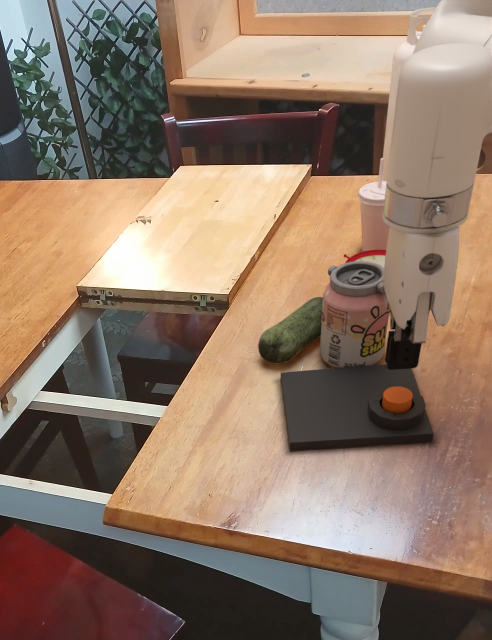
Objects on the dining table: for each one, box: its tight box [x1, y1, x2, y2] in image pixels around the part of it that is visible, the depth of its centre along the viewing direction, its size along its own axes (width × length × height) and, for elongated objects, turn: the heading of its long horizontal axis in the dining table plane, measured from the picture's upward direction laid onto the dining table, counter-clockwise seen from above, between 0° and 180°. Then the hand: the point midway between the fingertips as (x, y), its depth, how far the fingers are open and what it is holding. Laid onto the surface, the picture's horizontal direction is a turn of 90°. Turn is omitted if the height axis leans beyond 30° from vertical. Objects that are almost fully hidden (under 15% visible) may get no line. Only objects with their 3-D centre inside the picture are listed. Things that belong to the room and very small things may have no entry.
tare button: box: [382, 386, 413, 413], centre depth 85 cm, size 3×3×2 cm
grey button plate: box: [279, 363, 435, 452], centre depth 89 cm, size 16×14×3 cm
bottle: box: [382, 7, 436, 181], centre depth 115 cm, size 8×8×28 cm
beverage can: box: [319, 261, 391, 368], centre depth 93 cm, size 9×8×12 cm
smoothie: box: [357, 157, 390, 252], centre depth 110 cm, size 6×6×14 cm
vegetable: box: [257, 296, 323, 365], centre depth 99 cm, size 14×5×5 cm, turn 133°
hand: (400, 364), depth 81 cm, fingers closed
